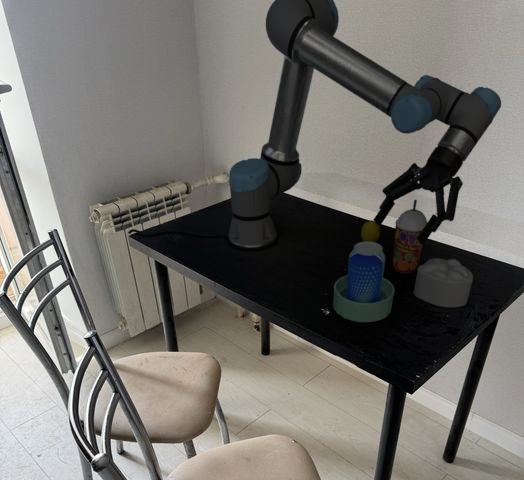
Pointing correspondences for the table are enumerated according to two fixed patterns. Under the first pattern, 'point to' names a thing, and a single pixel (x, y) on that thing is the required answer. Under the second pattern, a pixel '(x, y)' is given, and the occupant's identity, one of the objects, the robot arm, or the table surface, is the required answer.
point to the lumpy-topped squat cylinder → (443, 283)
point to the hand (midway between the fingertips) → (397, 232)
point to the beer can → (365, 273)
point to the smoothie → (408, 240)
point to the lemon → (370, 232)
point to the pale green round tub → (362, 310)
